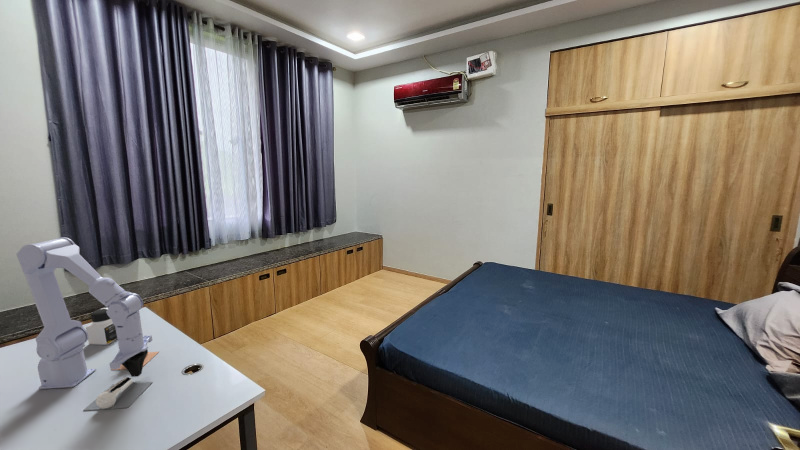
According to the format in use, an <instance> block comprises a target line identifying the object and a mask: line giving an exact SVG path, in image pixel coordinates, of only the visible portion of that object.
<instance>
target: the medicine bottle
mask: <svg viewBox="0 0 800 450" xmlns="http://www.w3.org/2000/svg"><path fill="white" fill-rule="evenodd" d="M107 310H108V308H107V307H102V308H99V309H95V310H94V311H92V312H91V313H90V318H91V322H92V323H90V324H89V325H86V326H85V329H86V330H87V332H88V335H89V337H88V340H87V342H88V345H110V344H111V343H113V342H115V341H116V340H117V334H116V328H115V325H114V324H113V322H112V319H111V318H110V317H109V316H108V315H107V313H106V311H107Z"/></svg>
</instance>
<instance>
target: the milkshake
mask: <svg viewBox="0 0 800 450" xmlns="http://www.w3.org/2000/svg"><path fill="white" fill-rule="evenodd" d="M133 383H134V380H133V379H132V377H128V376H127V377H123V378H122V379H120V380H118V381H117V382H116V383H115V384H114V385H113V384H112V385H113V386H112V385H111V386H112V387H110V386H109V387H110V388H109V387H108V388H109V389H108V388H107V389H105V390H104V391H103V392H101V393H99V394H98V395H97V397H96V398H95V400H96V404H97V406H99V407H100V408H102V409H103V410H106V409H105V408H110V407H112V406H114V404H115V403H116V402H117V400H118V399H119V398H120V397H121V396H122V395H123V394H124V393H125V392H126V391H127V390H128V389H129V388H130V387H131V386H132V385H133ZM111 410H113V407H112V409H111Z"/></svg>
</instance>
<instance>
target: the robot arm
mask: <svg viewBox="0 0 800 450" xmlns="http://www.w3.org/2000/svg"><path fill="white" fill-rule="evenodd" d="M80 249H81V248H80V246H78V245H77V244H76V243H75V242H74V241H73V240H72V239H71V238H69V237H65V236H63V237H62V236H61V237H58V238H54V239H50V240H49V239H48V240H45V241H39V242H36V243H30V244H29V243H28V244H24V245H23V246H22V247H21V248H20V249H19V250H18V252H16V257H17V260H18V262H19V265H20V267H21V270H22V272H23V275H24V278H25V280H26V282H27V285H28V288H29V290H30V293H31V296H32V298H33V301H34V304H35V307H36V308H37V311H38V314H39V317H40V320H41V322H42V325H43V329H42V330H41V331H40V332H39V334H37V336H36V337H35V341H36V350H35V351H36V354H37V355H38V357H39V358H40V360H39V361H38V364H37V372H38V376H39V380H40V386H39V387H38V389H39V390H43V389H46V390H47V389H57V388H58V389H60V388H74V387H76V386H78V384H80V383H81V382H83V380H85V379H86V378H88V377H89V376H90V375H91V374H92V373H94V372H95V371H96V370H97V369H96V368H87V367H88V366H87V362H86V358H85V352H84V347H86V344H85V343H86V342H88V337H89V335H88V332H87V330H86V327H84V326H83V324H82V321H80V320H75V319H71V317H70V316H71V315H70V313H69V310H68V308H67V305H66V303H65V299H64V297H63V294H62V291H61V288H60V285H59V282H58V281H57V280H58V279H57V277H56V274H55V270H56V269H64V270H66V271H68V272H69V273H70V274H72V275H73V276H74V277H76V278H77V279H79V280H80V281H82V282H83V283H85V284H87V286H88V293H89V294H90V295H91V296H92V297H94V298H95V299H96V300H97V301H98V302H100V303H101V304H102V305H103V306H104V307H105V308H108V310H107V311H106V313H107V315H108V316H109V317H110V318H111V319H112V322H113V324H114V325H115V328H116V334H117V339H116V340H117V344H118V352H117V354H116V355H115V356H114V357H113V360H111V361H110V362H109V368H110V370H111V369H119V368H120V367H121V366H120V365H121V364H122V365H123V366H124V367H125V368H126V369H125V370H127V372H128V374H129V375H130V376H131V378H134V377H135V378H136V377H140V376H141V375H142V373H143V367H144V366H143V363H144V359H145V357H146V355H147V353H148V352H149V351H148V349H149V346H148V344H149V343H151V342H152V341H153V335H149V334H148V335H143V328H142V319H141V315H140V310H142V309H143V307H144V300H143V298H142V297H141V296H140V295H139V294H138V293H134V292H131V291H126V290H125V289H124V288H123V287H122V286H120V285H119V284H118V283H117V282H116V281H115V280H114V279H112V278H111V277H102V276H101V275H100V273H98V272H97V270H95V269H94V267H93V266H92V265H91V264H89V262H88V261H87V260H86V259H85V258H84V257H83V256H82V255H81V254H80Z"/></svg>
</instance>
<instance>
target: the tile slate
mask: <svg viewBox="0 0 800 450" xmlns="http://www.w3.org/2000/svg"><path fill="white" fill-rule="evenodd" d="M152 384H153V382H152V381H150V382H148V381H146V382H133V385H132V386H131V387H130V388H129V389H128V390H127V391H126V392H125V393H124V394H123V395H122V396H121V397H120V398H119V399H118V400H117V402H116V403H115V404H114V406H112V407H113V409H114V410H115V409H128V408H129V407H130V406H131V405H132V404H133V403H134V402H135V401H137V399H138V398H139V397H140V396H141V395H142V394H143V393H144V392H145V391H146V390H147V389H148V388H149V387H150V386H151V385H152ZM113 385H114V384H111V386H109V387H108V388H107V389H109V388H110V387H112V386H113ZM112 407H110V408H105V409H102V408H100V407H99V406H97V404H96V399H94V400H93V401H92V402H91V403H90V404H88V406H86V407H85V408H84V409H83V412H87V411H99V410H113V409H112Z"/></svg>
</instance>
